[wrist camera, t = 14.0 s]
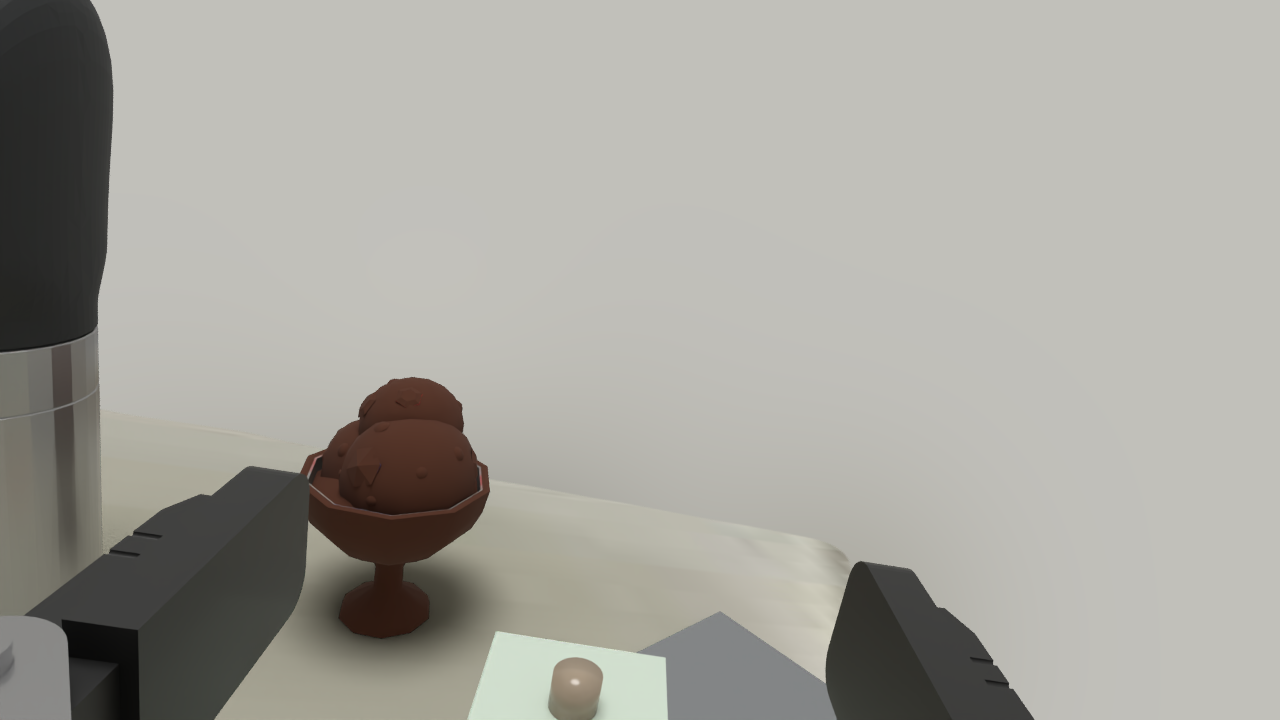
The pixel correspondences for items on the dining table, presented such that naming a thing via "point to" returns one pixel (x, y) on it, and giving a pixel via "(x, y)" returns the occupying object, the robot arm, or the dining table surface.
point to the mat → (735, 676)
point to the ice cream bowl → (396, 496)
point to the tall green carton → (568, 682)
